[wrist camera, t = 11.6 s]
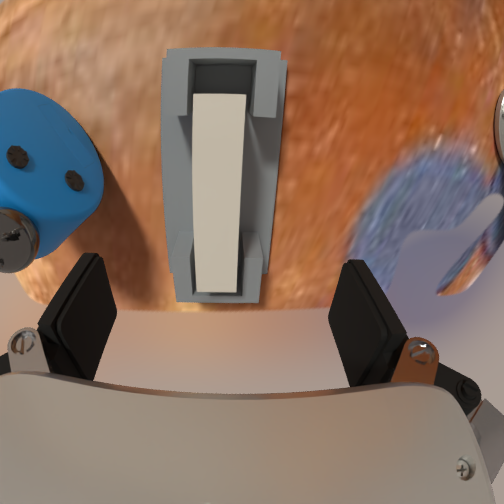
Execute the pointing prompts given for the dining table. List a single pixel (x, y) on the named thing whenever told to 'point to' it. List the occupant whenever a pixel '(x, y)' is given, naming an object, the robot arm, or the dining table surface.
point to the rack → (253, 162)
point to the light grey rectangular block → (217, 188)
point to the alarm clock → (42, 177)
